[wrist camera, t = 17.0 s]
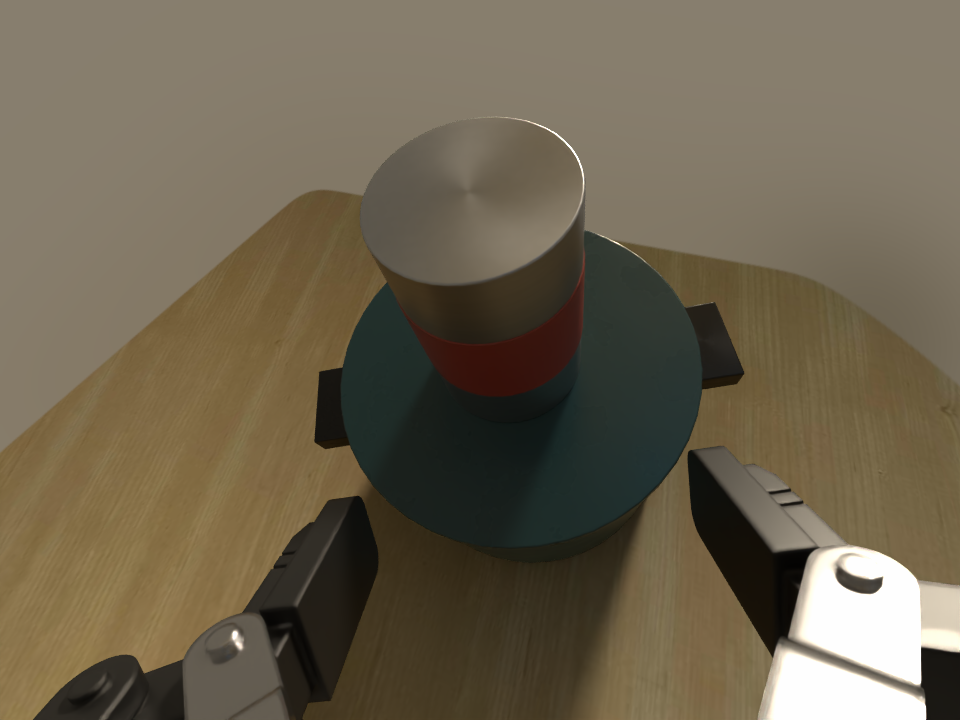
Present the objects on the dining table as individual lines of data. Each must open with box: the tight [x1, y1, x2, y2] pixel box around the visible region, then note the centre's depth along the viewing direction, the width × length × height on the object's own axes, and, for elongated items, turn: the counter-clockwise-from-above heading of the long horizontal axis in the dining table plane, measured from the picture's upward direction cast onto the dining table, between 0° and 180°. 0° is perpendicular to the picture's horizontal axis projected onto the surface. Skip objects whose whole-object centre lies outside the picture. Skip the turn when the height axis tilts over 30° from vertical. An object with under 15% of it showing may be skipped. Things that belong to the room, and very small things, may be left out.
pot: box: [314, 230, 744, 563], centre depth 26 cm, size 21×17×10 cm
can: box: [360, 117, 585, 423], centre depth 18 cm, size 6×6×10 cm
